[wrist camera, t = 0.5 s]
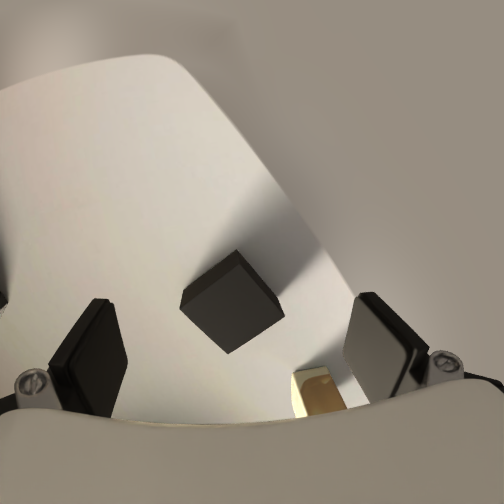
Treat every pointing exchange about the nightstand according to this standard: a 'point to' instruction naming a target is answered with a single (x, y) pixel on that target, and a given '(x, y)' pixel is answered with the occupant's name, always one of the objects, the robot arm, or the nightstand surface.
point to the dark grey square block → (231, 303)
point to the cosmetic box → (315, 393)
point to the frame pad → (2, 303)
